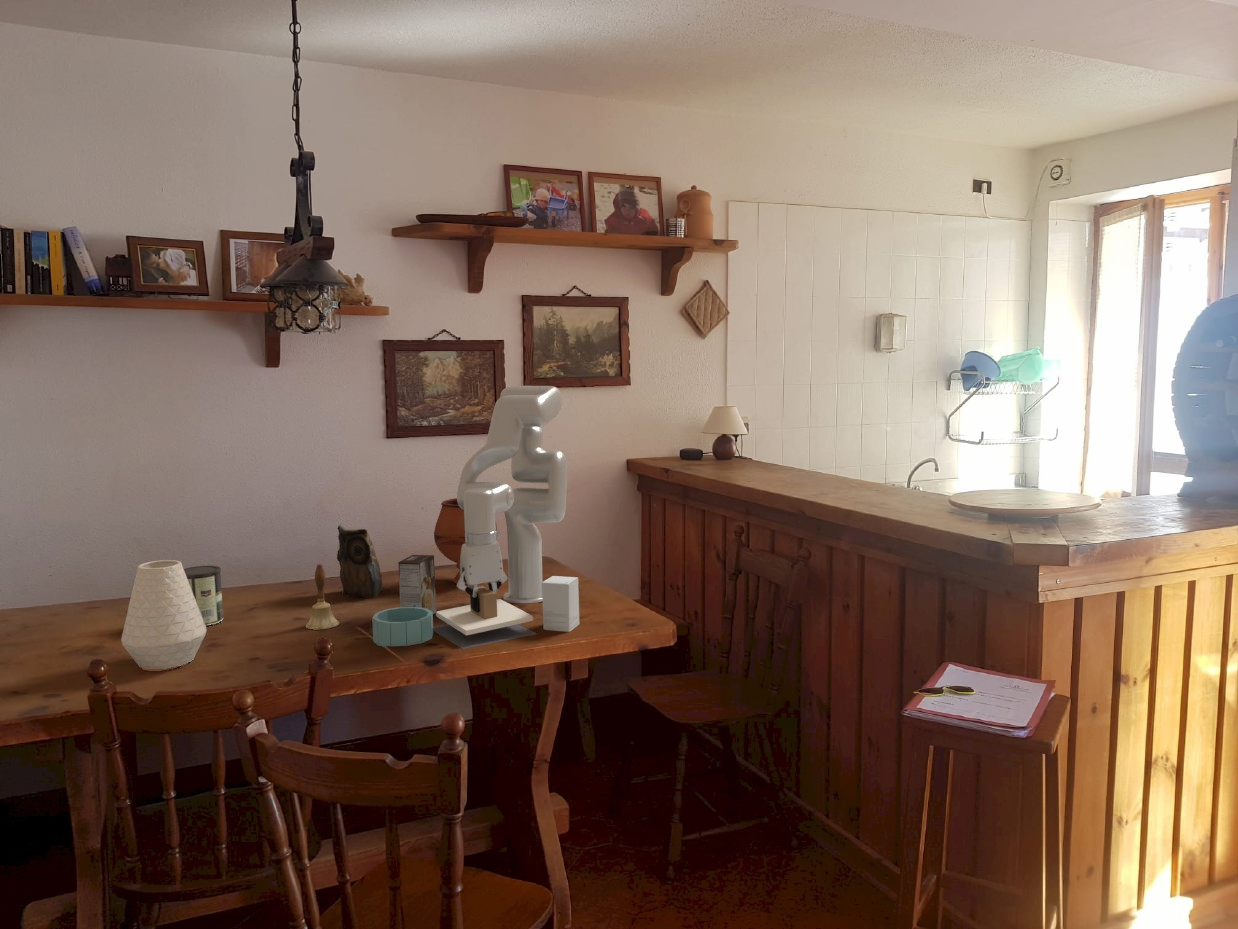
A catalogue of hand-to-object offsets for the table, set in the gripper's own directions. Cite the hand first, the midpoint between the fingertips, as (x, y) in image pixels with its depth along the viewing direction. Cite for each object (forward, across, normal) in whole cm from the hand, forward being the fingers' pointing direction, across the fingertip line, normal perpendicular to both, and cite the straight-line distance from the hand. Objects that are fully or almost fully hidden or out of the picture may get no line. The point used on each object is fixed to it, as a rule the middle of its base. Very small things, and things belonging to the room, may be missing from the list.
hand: (483, 608), depth 235 cm
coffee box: (+6, +9, -21) cm, 24 cm away
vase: (+5, +70, -20) cm, 73 cm away
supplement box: (+6, -17, +9) cm, 20 cm away
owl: (+7, +12, -54) cm, 56 cm away
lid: (+2, 0, 0) cm, 2 cm away
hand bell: (+6, +32, -29) cm, 44 cm away
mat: (+6, +1, +1) cm, 6 cm away
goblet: (+8, -18, -49) cm, 53 cm away
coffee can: (+6, +57, -50) cm, 76 cm away
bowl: (+6, +19, -6) cm, 21 cm away
